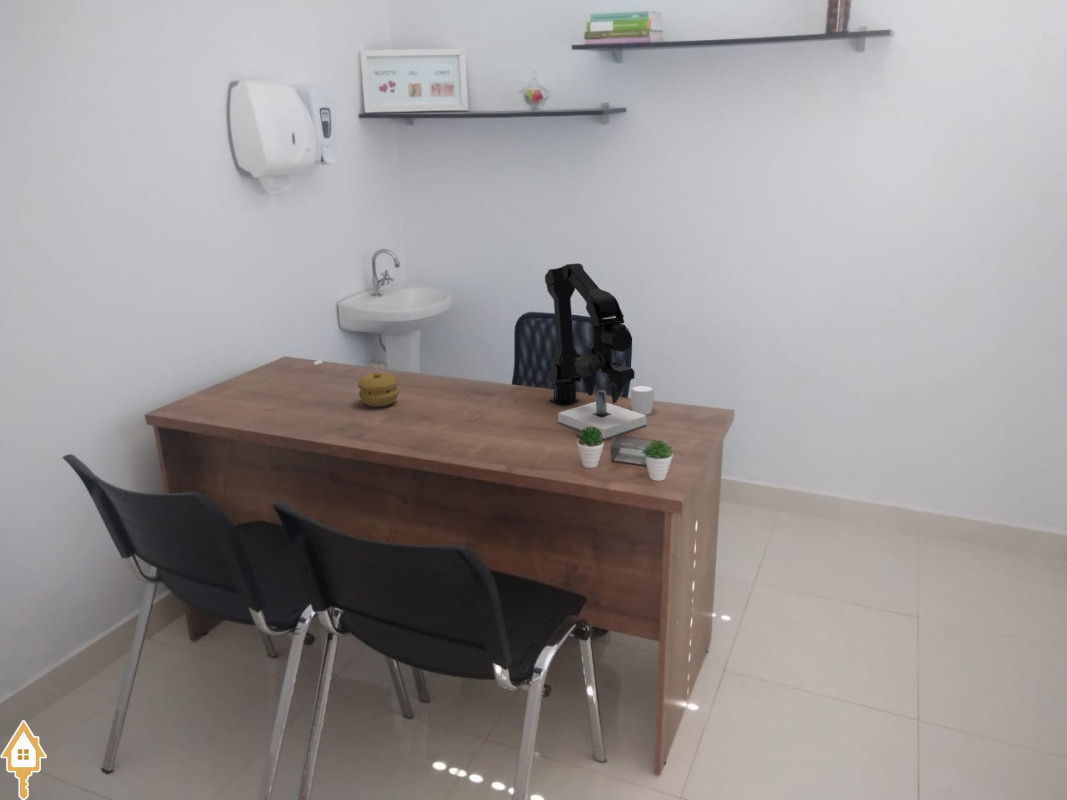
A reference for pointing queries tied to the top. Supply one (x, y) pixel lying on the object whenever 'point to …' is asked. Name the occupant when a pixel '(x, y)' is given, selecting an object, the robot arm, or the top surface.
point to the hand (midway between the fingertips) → (602, 399)
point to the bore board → (603, 419)
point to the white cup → (642, 399)
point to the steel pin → (601, 403)
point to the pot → (378, 389)
